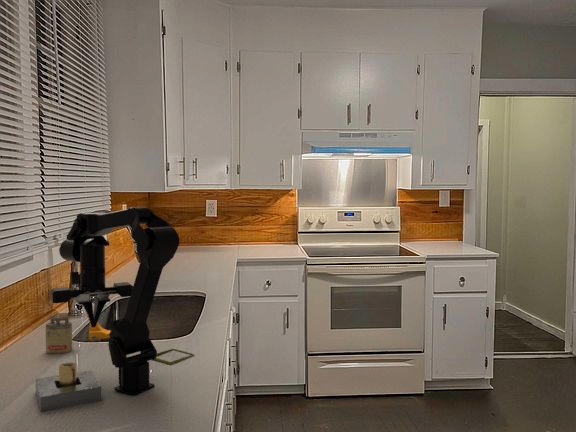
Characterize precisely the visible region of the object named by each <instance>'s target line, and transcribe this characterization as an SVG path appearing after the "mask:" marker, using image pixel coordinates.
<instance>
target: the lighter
mask: <svg viewBox="0 0 576 432" xmlns="http://www.w3.org/2000/svg"><path fill="white" fill-rule="evenodd" d="M49 320H50V322H48V323H46V324H45V353H46V354H62V353H68V352H71V351H73V323H72V322H70V321H69V320H70V319H69V315H67V316H50V319H49Z"/></svg>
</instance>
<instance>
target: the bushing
mask: <svg viewBox="0 0 576 432" xmlns="http://www.w3.org/2000/svg"><path fill="white" fill-rule="evenodd" d="M76 373H77V363H76V362H64V363H60V364H59V365H58V375H59V388H63V387H69V386H74V385H76Z"/></svg>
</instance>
